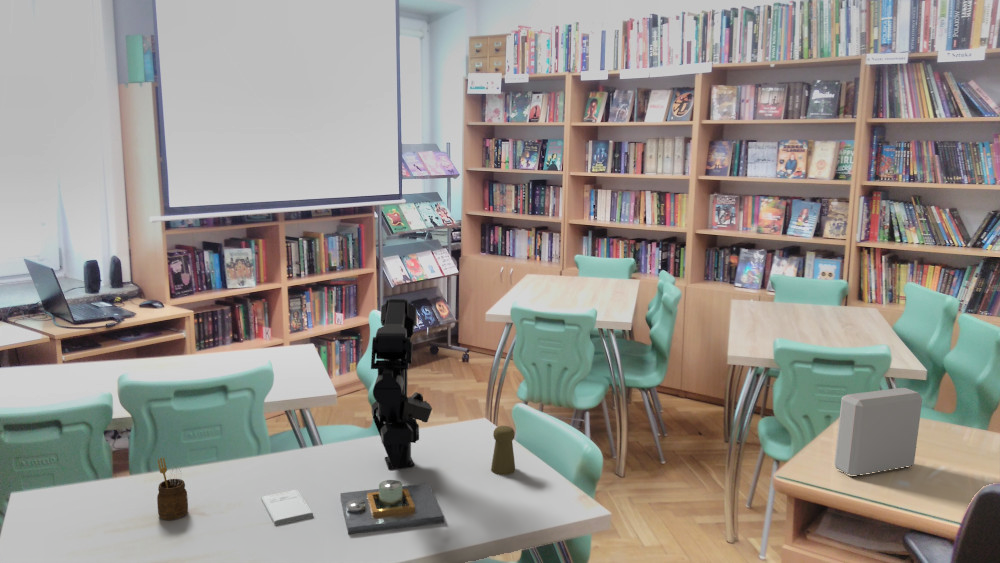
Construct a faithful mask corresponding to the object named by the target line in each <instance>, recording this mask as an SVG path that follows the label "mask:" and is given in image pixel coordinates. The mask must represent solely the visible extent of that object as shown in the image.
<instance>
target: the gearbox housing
mask: <svg viewBox="0 0 1000 563" xmlns="http://www.w3.org/2000/svg"><path fill="white" fill-rule="evenodd" d="M339 495H340V503H341V507H342V512H343V516H344V521H345V526H346V530H347V534H348V535H355V534H356V535H357V534H365V533H370V532H371V533H372V532H378V531H387V530H394V529H403V528H409V527H419V526H426V525H427V526H428V525H433V524H443V523H445V522H444V520H445V519H444V518H445V516H444V514H443V511H442V509H441V507H440V505H439V503H438V501H437V499H436V496H435V495H434V492H433V491H432V488H431V486H430V484H429V483H427V482H426V483H419V484H411V485H410V484H409V485H402V503H404V505H402V506H400V507H392V508H383V509H379V508H378V507H377V505H378V506H379V488H375V489H365V490H356V491H347V492H340V494H339Z"/></svg>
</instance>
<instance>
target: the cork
mask: <svg viewBox="0 0 1000 563" xmlns="http://www.w3.org/2000/svg"><path fill="white" fill-rule="evenodd" d="M495 427H496V426H495ZM515 433H516V432H515V429H514V428H512V427H511V426H509V425H499V426H497V427H496V428H494V430H493V439H494V440H495V441H494V442H495V443H494V449H493V454H492V461H491V468H490V471H491V472H492V473H493V474H495V475H498V474H499V476H508V475H512V474H514V473H515V472H516V463H515V462H516V461H515V453H514V446H513V445H514V444H513V441H514V439H515Z"/></svg>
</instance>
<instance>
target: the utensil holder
mask: <svg viewBox="0 0 1000 563" xmlns="http://www.w3.org/2000/svg"><path fill="white" fill-rule="evenodd" d="M157 464H158V469H159V473H160V474H162V475H163V479H164V480H163V481H162V482H160V483H159V484H158V493H157V497H156V502H157V504H156V505H157V512H158V517H159V518H160V519H161V520H165V521H175V520H178V519H181V518H183V517H184V516H186V515H187V513H188V510H189V501H188V498H189V497H188V491H187V489H186V483H185V481H184V480H183V479H182V478H176V477H173V478H171V475H173V472H174V471H175V472H174V473H175V475H177V471H178V470H180V468H179V467H178V468H177V467H176V468H175V467H174V468H173V469H171V470H170V472H169V473H170V475H169V478H168V479H167V476H166V473H167V471H168V468H167V464H166V460H165V457H164V456H162V457H160V458H157ZM171 471H172V472H171ZM180 476H182V472H180Z"/></svg>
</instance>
